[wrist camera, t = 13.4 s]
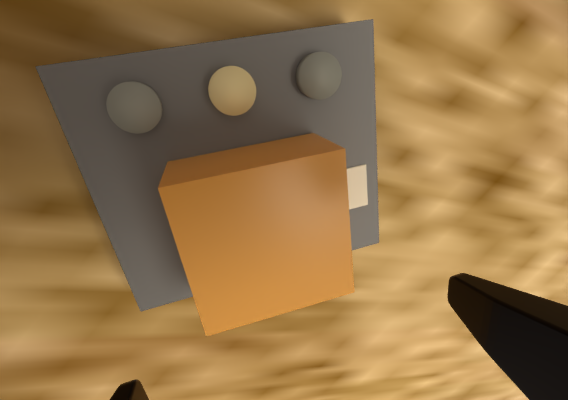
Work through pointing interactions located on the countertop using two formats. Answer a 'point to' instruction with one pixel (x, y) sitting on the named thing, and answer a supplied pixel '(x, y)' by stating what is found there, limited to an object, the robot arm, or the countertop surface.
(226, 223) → the cap
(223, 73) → the panel
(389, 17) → the countertop surface
